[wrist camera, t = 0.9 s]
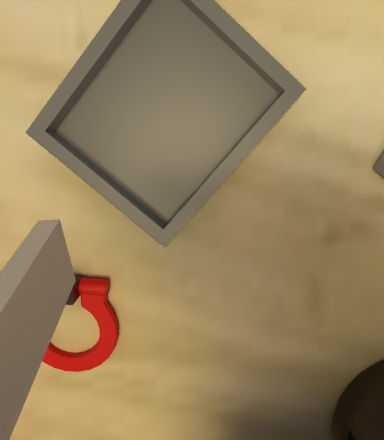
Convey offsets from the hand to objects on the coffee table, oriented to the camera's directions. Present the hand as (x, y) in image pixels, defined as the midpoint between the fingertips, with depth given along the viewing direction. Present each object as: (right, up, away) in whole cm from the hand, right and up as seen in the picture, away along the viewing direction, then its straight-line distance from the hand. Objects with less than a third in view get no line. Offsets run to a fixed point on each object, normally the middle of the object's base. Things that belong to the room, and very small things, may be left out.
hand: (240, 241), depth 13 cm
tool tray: (-4, +9, +14) cm, 17 cm away
